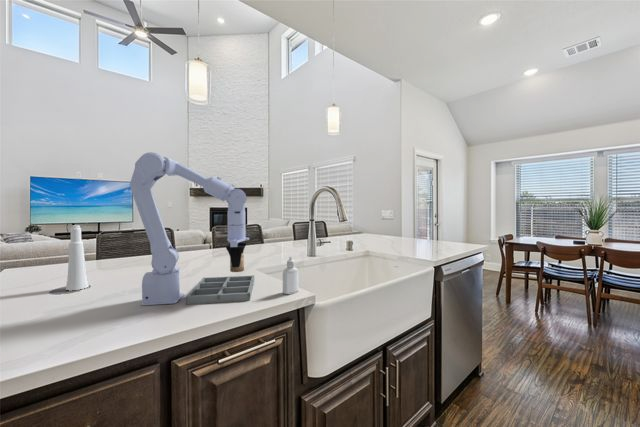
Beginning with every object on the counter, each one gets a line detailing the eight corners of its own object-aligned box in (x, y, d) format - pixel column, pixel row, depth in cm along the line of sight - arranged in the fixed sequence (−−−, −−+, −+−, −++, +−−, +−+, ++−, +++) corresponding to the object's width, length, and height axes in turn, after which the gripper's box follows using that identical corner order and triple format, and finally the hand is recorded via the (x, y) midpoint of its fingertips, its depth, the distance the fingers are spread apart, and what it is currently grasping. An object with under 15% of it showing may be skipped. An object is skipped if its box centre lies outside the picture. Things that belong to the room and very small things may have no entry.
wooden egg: (229, 272, 89) (229, 252, 88) (231, 269, 93) (231, 250, 93) (243, 271, 89) (243, 251, 89) (244, 268, 94) (244, 249, 94)
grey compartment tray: (185, 304, 80) (185, 296, 80) (203, 283, 101) (203, 277, 101) (250, 300, 83) (249, 293, 83) (254, 281, 104) (254, 275, 104)
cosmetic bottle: (78, 291, 92) (76, 226, 91) (60, 291, 92) (58, 226, 91) (93, 285, 98) (91, 224, 97) (76, 285, 98) (75, 224, 97)
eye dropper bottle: (300, 293, 90) (300, 257, 89) (283, 295, 88) (283, 258, 88) (297, 289, 94) (297, 255, 94) (281, 291, 92) (281, 256, 92)
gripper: (246, 226, 84) (247, 270, 85) (250, 223, 99) (250, 260, 99) (223, 226, 83) (223, 270, 84) (230, 223, 97) (230, 261, 98)
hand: (236, 265), depth 91 cm, fingers closed on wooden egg, 4 cm apart
